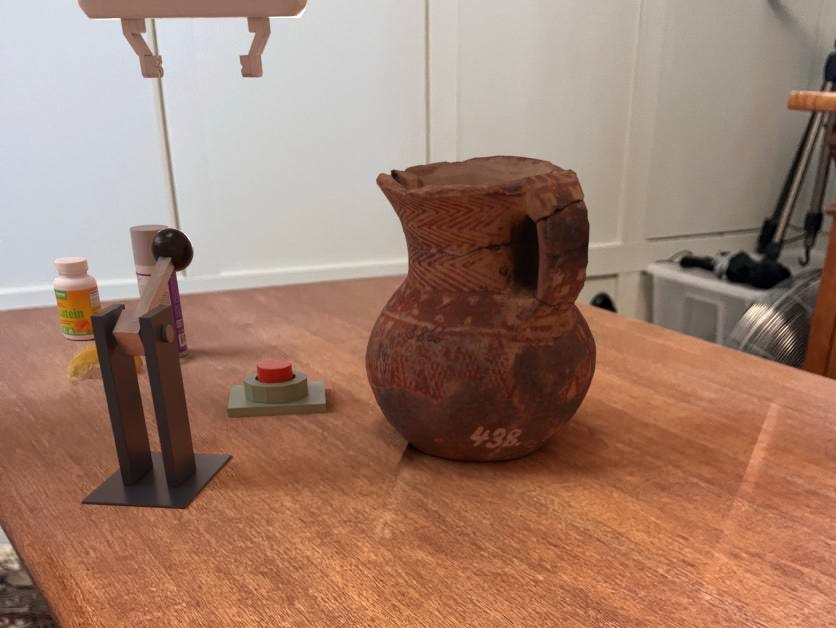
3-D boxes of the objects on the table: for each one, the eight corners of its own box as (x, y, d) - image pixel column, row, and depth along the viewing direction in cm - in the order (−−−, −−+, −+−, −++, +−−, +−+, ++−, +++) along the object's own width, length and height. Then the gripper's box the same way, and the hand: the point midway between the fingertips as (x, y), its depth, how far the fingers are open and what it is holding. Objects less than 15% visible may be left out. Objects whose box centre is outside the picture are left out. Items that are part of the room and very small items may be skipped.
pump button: (257, 386, 104) (255, 369, 104) (258, 376, 108) (256, 360, 107) (293, 385, 105) (291, 368, 104) (293, 375, 108) (291, 358, 107)
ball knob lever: (164, 254, 91) (152, 218, 88) (203, 255, 91) (191, 219, 88) (116, 361, 84) (100, 325, 81) (158, 362, 83) (144, 326, 80)
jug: (333, 461, 96) (310, 173, 83) (419, 396, 113) (411, 148, 100) (557, 492, 90) (570, 185, 77) (613, 418, 107) (631, 157, 94)
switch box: (229, 429, 104) (224, 391, 102) (233, 404, 111) (228, 368, 109) (327, 423, 105) (324, 386, 103) (325, 400, 112) (322, 364, 110)
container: (171, 346, 131) (152, 223, 123) (195, 352, 129) (177, 226, 121) (142, 355, 128) (120, 228, 120) (166, 361, 125) (145, 232, 118)
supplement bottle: (56, 340, 134) (39, 263, 129) (76, 329, 139) (61, 255, 134) (94, 341, 133) (79, 264, 128) (113, 331, 138) (99, 256, 133)
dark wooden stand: (141, 465, 95) (109, 292, 87) (234, 469, 94) (210, 295, 86) (84, 517, 85) (42, 327, 77) (187, 523, 84) (155, 330, 76)
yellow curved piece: (148, 366, 123) (143, 333, 121) (135, 389, 116) (129, 353, 114) (78, 368, 123) (71, 335, 120) (61, 391, 115) (53, 356, 113)
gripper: (44, -111, 84) (79, 79, 91) (283, -117, 82) (300, 78, 89) (78, -103, 90) (109, 76, 97) (303, -108, 87) (318, 75, 95)
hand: (202, 77), depth 93 cm, fingers open, 8 cm apart
